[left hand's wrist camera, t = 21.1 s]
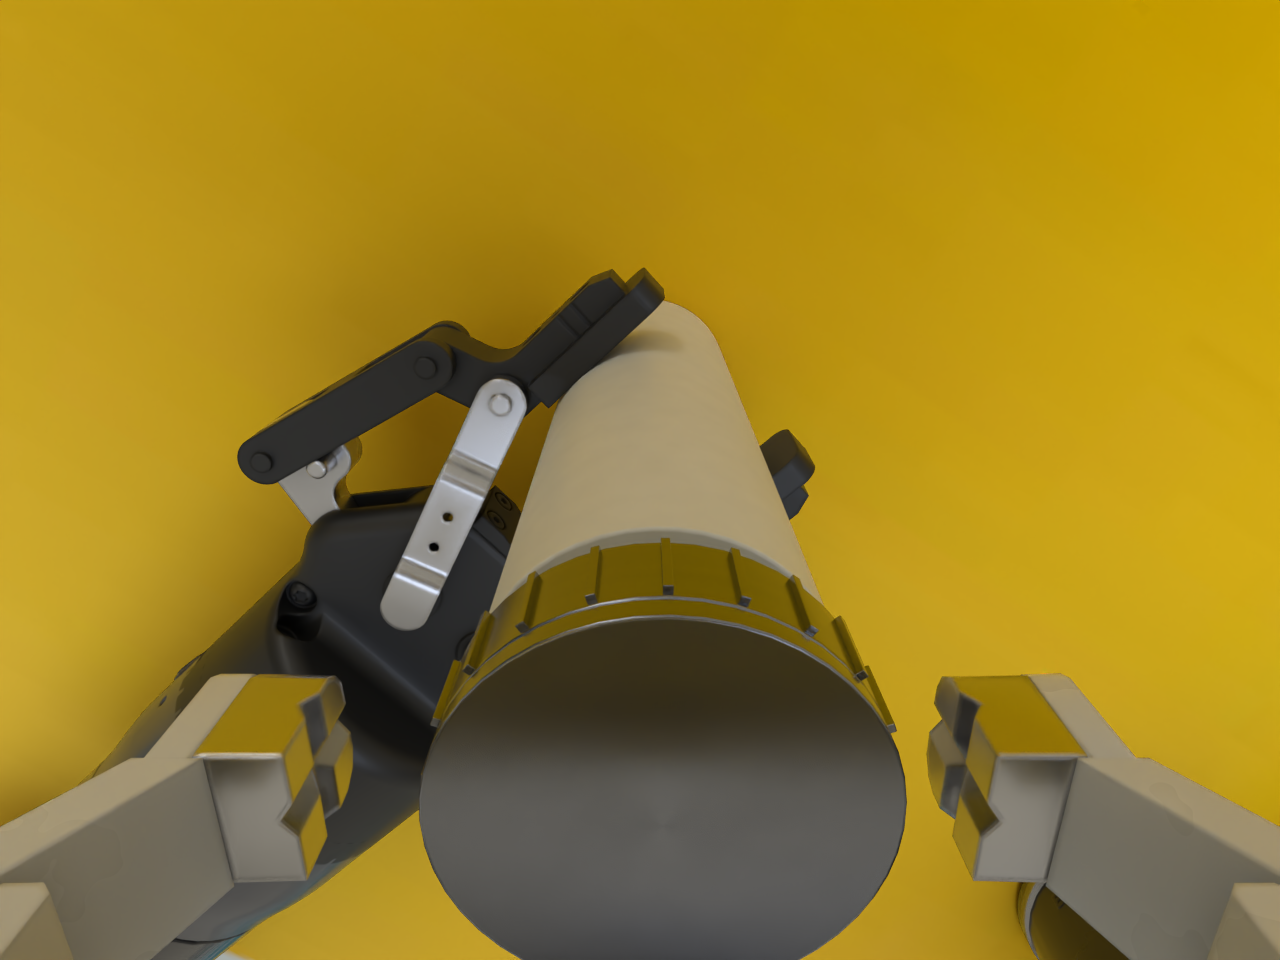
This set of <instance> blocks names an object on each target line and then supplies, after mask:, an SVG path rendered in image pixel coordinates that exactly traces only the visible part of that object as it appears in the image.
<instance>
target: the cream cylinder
mask: <svg viewBox="0 0 1280 960" xmlns="http://www.w3.org/2000/svg"><path fill="white" fill-rule="evenodd" d="M661 538H670V542H671V543H682V544H695V545H700V546H705V547H711V548H716V549H721V550H725V551H728V552H729V551H730V548H731V547H732V548H736V549H739V550H740V554H741V556H743V557H747V558H750V559H752V560H754V561H757V562H759V563H761V564H763V565H765V566H767V567H769V568H772V569H774V570H776V571H778V572H779V573H781V574H783V575H784V576H786V577H787V578H790V577H791V576H792V575H795V576H796V577H798V578H799V579H800V581H801V583H802V586H803V588H804V589H805V590H806V591H807V592H808V593H809V594H811V595H812V596H813V597H814V598H815V599H817V600H818V601H819V602H820V603H821V604H822V605H823V602H822V600H821V598H820V595H819V593H818V590H817V588H816V585H815V583H814V580H813V578H812V575H811V573H810V570H809V568H808V565H807V563H806V560H805V558H804V555H803V553H802V551H801V548H800V546H799V543H798V541H797V538H796V536H795V533H794V531H793V528H792V526H791V523H790V521H789V518H788V516H787V513H786V511H785V508H784V506H783V503H782V501H781V499H780V496H779V494H778V491H777V489H776V486H775V484H774V481H773V479H772V476H771V474H770V471H769V469H768V466H767V464H766V461H765V459H764V456H763V454H762V452H761V449H760V447H759V444H758V442H757V439H756V437H755V434H754V432H753V429H752V427H751V424H750V422H749V419H748V417H747V414H746V412H745V409H744V407H743V405H742V402H741V400H740V397H739V395H738V392H737V390H736V387H735V385H734V382H733V380H732V377H731V375H730V372H729V370H728V367H727V365H726V362H725V360H724V358H723V355H722V353H721V350H720V348H719V345H718V343H717V341H716V339H715V337H714V335H713V334H712V333H711V331H710V330H709V328H708V327H707V326H706V325H705V324H704V323H703V322H702V321H701V320H700V319H699V318H698V317H697V316H696V315H694V314H693V313H692V312H690V311H688V310H687V309H685V308H683V307H681V306H679V305H676V304H674V303H670V302H667V301H662V303H661V304H660V305H659V306H658V307H657V308H656V310H655V311H654V312H653V313H652V314H650V315H649V316H648V317H647V318H646V319H645V320H644V321H643V322H642V323H641V324H640V325H639V326H637V327H636V328H635V329H634V330H633V331H632V332H631V333H630V334H629V335H628V336H627V337H625V338H624V339H623V340H622V341H621V342H620V343H619V344H618V345H617V346H616V347H615V348H614V349H612V350H611V351H610V352H609V353H608V354H607V355H606V356H605V357H604V358H603V359H602V360H600V361H599V362H598V363H597V364H596V365H595V366H594V367H593V368H592V369H591V370H590V371H589V372H587V373H586V374H585V375H584V376H582V377H581V378H580V379H579V380H578V381H577V382H576V383H575V384H574V385H573V386H572V387H571V388H570V389H569V390H568V391H567V392H566V393H565V394H563V395H562V396H561V397H560V398H559V401H558V404H557V407H556V410H555V413H554V416H553V419H552V422H551V425H550V428H549V431H548V434H547V437H546V440H545V443H544V446H543V450H542V453H541V456H540V459H539V462H538V465H537V468H536V471H535V474H534V477H533V480H532V483H531V486H530V489H529V492H528V495H527V498H526V501H525V504H524V507H523V511H522V514H521V517H520V520H519V523H518V526H517V529H516V532H515V535H514V538H513V541H512V544H511V547H510V550H509V553H508V556H507V559H506V562H505V565H504V568H503V572H502V575H501V578H500V581H499V584H498V587H497V590H496V593H495V596H494V599H493V602H492V605H491V608H490V611H489V613H490V614H491V613H492V612H493V611H494V610H495V609H496V608H497V607H498V606H499V605H500V604H501V603H502V602H503V601H504V600H505V599H506V598H507V597H508V596H510V595H511V594H512V593H513V592H515V591H516V590H517V589H518V588H520V587H521V586H522V585H524V584H525V583H526V582H527V578H528V575H529V574H531V573H532V572H534V571H536V572H537V573H538V574H539V575H540V574H541V573H543V572H545V571H547V570H548V569H550V568H552V567H554V566H557V565H559V564H561V563H564V562H566V561H568V560H571V559H573V558H575V557H578V556H581V555H585V554H588V553H590V549H591V547H594V546H598V545H599V546H600V548H601V550H602V549H605V548H611V547H617V546H623V545H629V544H636V543H658V542H661ZM823 606H824V605H823Z"/></svg>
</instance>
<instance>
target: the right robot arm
mask: <svg viewBox="0 0 1280 960" xmlns="http://www.w3.org/2000/svg"><path fill="white" fill-rule="evenodd" d="M664 298H665V296H664V290H663V288H662V287H661V286H660V285H659V283H658V282H657V281H656V280H655V279H654V278H653V277H652V276H651V275H650V273H649V272H648V271H647V270H646V269H645V268H642V269H641V270H640V271H638V272H637V273H636V274H635V275H634V276H632V277H631V278H630V279H629V280H628V281H627V282H626V283H625V282H624V281H623V280H622V279H621V278H620V277H619V276H618V275H617V274H616V272H615V271H614V270H613V269H611V270H608V271H606V272H603V273H601V274H598V275H595V276H593V277H591V278H590V279H589V280H588V281H587V282H586V283H585V284H584V285H583V286H582V287H581V288H580V289H579V290H578V291H577V292H576V293H575V294H574V295H572V296H571V297H570V298H569V299H568V300H567V301H566V302H565V303H564V304H563V305H562V306H561V307H560V308H559V309H558V310H557V311H556V312H555V313H554V314H553V315H552V316H550V317H549V318H548V319H547V320H546V321H545V322H544V323H543V324H542V325H541V326H540V327H539V328H538V329H537V330H536V331H535V332H534V333H533V334H532V335H531V336H530V337H529V338H528V339H526V340H525V341H524V342H523V343H522V344H520V345H519V346H517V347H514V348H511V349H496V348H493V347H490V346H488V345H486V344H484V343H482V342H480V341H478V340H476V339H474V338H472V337H470V335H469V333H468V331H467V330H466V329H465V328H464V327H463V326H461V325H460V324H458V323H456V322H453V321H441V322H438V323H436V324H434V325H432V326H431V327H429V328H427V329H426V330H424V331H422V332H421V333H419V334H417V335H415V336H414V337H412V338H410V339H409V340H407V341H405V342H404V343H402V344H400V345H398V346H397V347H395V348H393V349H392V350H390V351H388V352H387V353H385V354H383V355H381V356H380V357H378V358H376V359H375V360H373V361H371V362H370V363H368V364H366V365H364V366H363V367H361V368H359V369H358V370H356V371H354V372H353V373H351V374H349V375H347V376H346V377H344V378H342V379H341V380H339V381H337V382H336V383H334V384H332V385H330V386H329V387H327V388H325V389H324V390H322V391H320V392H319V393H317V394H315V395H313V396H312V397H310V398H308V399H307V400H305V401H303V402H302V403H300V404H298V405H296V406H295V407H293V408H291V409H290V410H288V411H286V412H285V413H284V414H282V415H281V416H280V417H278V418H277V419H275V420H274V421H273V422H271V423H270V424H268V425H267V426H266V427H264V428H263V429H262V430H260V431H259V432H258V433H256V434H255V435H254V436H252V437H251V438H250V439H248V440H247V441H246V442H244V443H243V444H242V445H241V447H240V448H239V451H238V455H237V458H238V464H239V466H240V468H241V470H242V472H243V473H244V474H245V475H246V476H247V477H248V478H249V479H251V480H253V481H254V482H257V483H260V484H274V483H276V482H278V483H279V484H280V485H281V487H282V488H283V489H284V490H285V492H286V493H287V494H288V496H289V497H290V498H291V499H292V501H293V502H294V503H295V505H296V506H297V507H298V508H299V510H300V511H301V512H302V513H303V515H304V516H305V517H306V519H307V520H308V521H309V522H310V524H311V525H312V526H311V528H310V529H309V531H308V533H307V536H306V539H305V545H304V551H303V554H302V557H301V560H300V561H299V562H298V563H297V564H296V565H295V566H294V567H293V568H292V569H291V570H290V571H289V572H288V573H287V574H286V575H285V576H284V577H283V578H282V579H281V580H280V581H279V582H277V583H276V584H275V585H274V586H273V587H272V588H271V589H270V590H269V591H268V592H267V593H266V594H265V595H264V596H263V597H262V598H261V599H260V600H259V601H258V602H257V603H256V604H255V605H253V606H252V607H251V608H250V609H249V610H248V611H247V612H246V613H245V614H244V615H243V616H242V617H241V618H240V619H239V620H238V621H237V622H236V623H235V624H234V625H233V626H232V627H231V628H229V629H228V630H227V631H226V632H225V633H224V634H223V635H222V636H221V637H220V638H219V639H218V640H217V641H216V642H215V643H214V644H213V645H212V646H211V647H210V648H209V649H207V650H206V651H205V652H204V653H202V654H200V655H199V656H197V657H196V658H194V659H193V660H192V661H190V662H189V663H188V664H187V665H185V666H184V667H183V668H182V669H181V670H180V671H179V672H178V673H177V676H176V677H175V679H174V682H173V683H172V684H171V685H170V686H169V687H168V688H167V689H166V690H164V691H163V692H162V693H161V694H160V695H159V696H158V697H157V698H156V699H155V700H154V701H153V702H152V703H151V704H150V705H149V706H148V707H147V708H146V709H145V710H144V711H143V713H142V714H141V715H140V716H139V717H138V719H137V720H136V721H135V722H134V724H133V725H132V726H131V727H130V729H129V730H128V731H127V732H126V734H125V735H124V737H123V738H122V740H121V741H120V742H119V744H118V745H117V747H116V748H115V749H114V750H113V751H112V752H111V753H110V755H109V756H108V757H107V758H106V759H105V760H104V761H103V762H102V763H101V764H100V765H99V766H98V767H97V768H95V769H94V770H93V771H92V772H91V773H90V774H89V775H88V776H87V777H86V778H85V779H84V780H83V781H82V782H81V783H80V784H79V785H81V784H82V783H84V782H86V781H88V780H90V779H92V778H94V777H96V776H98V775H100V774H101V773H103V772H105V771H107V770H109V769H111V768H113V767H115V766H117V765H119V764H121V763H122V762H124V761H126V760H128V759H130V758H144V757H145V756H146V755H147V753H148V752H149V751H150V750H151V749H152V747H153V746H154V745H155V744H156V743H157V741H158V740H159V739H160V738H161V737H162V735H163V734H164V733H165V732H166V730H167V729H168V728H169V727H170V726H171V724H172V723H173V722H174V721H175V720H176V718H177V717H178V716H179V715H180V714H181V712H182V711H183V710H184V709H185V708H186V706H187V705H188V704H189V703H190V702H191V700H192V699H193V698H194V697H195V695H196V694H197V693H198V692H199V691H200V689H201V688H202V687H203V686H204V685H205V683H206V682H207V681H208V680H209V679H210V678H211V677H213V676H216V675H219V674H256V675H259V674H284V675H331V676H336V677H337V678H338V679H339V680H340V681H341V682H342V687H343V692H344V697H345V702H346V704H345V706H344V708H343V710H342V712H341V714H340V716H339V718H338V720H339V721H340V722H341V723H342V724H343V725H344V726H345V727H346V728H347V729H348V730H349V731H350V732H351V739H352V745H353V768H352V773H351V778H350V783H349V788H348V791H347V794H346V796H345V798H344V801H343V803H342V805H341V808H340V809H338V810H337V811H336V812H334V813H333V814H332V815H330V816H329V817H328V818H326V819H325V825H326V830H327V838H326V841H325V843H324V845H323V847H322V849H321V851H320V853H319V856H318V858H317V860H316V862H315V864H314V866H313V869H312V871H311V873H310V875H309V877H308V879H307V881H274V882H239V883H234V887H233V888H232V889H231V890H230V891H228V892H227V893H226V894H225V895H224V896H223V897H222V898H220V899H219V900H218V901H217V902H216V903H215V904H214V905H212V906H211V907H210V908H209V909H208V910H207V911H206V912H204V913H203V914H202V915H201V916H200V917H199V918H198V919H196V920H195V921H194V922H193V923H192V924H191V925H189V926H188V927H187V928H186V929H185V930H184V931H183V932H181V933H180V934H179V935H178V936H177V937H176V938H175V939H173V940H172V941H171V942H170V943H169V944H168V945H167V946H165V947H164V948H163V949H162V950H161V951H160V952H159V953H157V954H156V955H155V956H154V957H153V958H152V959H150V960H215V959H216V958H217V957H219V956H220V955H221V954H222V953H224V952H225V951H226V950H227V949H229V948H230V947H231V946H232V945H234V944H235V943H236V942H238V941H239V940H240V939H241V938H243V937H244V936H245V935H246V934H248V933H249V932H250V931H251V930H253V929H254V928H255V927H256V926H258V925H259V924H260V923H262V922H263V921H264V920H266V919H267V918H269V917H271V916H272V915H274V914H276V913H278V912H280V911H282V910H284V909H286V908H288V907H290V906H291V905H293V904H295V903H296V902H298V901H300V900H301V899H303V898H304V897H306V896H308V895H309V894H311V893H312V892H313V891H315V890H316V889H318V888H319V887H321V886H322V885H323V884H325V883H326V882H327V881H328V880H330V879H331V878H332V877H333V876H335V875H336V874H337V873H338V872H340V871H341V870H342V869H343V868H345V867H346V866H347V865H348V864H350V863H351V862H352V861H353V860H355V859H356V858H357V857H358V856H360V855H361V854H362V853H363V852H365V851H366V850H367V849H369V848H370V847H371V846H373V845H374V844H375V843H377V842H378V841H379V840H380V839H382V838H383V837H384V836H385V835H387V834H388V833H389V832H391V831H392V830H393V829H394V828H396V827H397V826H398V825H399V824H401V823H402V822H403V821H404V820H406V819H407V818H408V817H410V816H411V815H412V814H413V813H415V812H416V811H417V810H419V792H420V785H421V773H422V770H423V768H424V765H425V762H426V759H427V756H428V752H429V749H430V746H431V743H432V741H433V738H434V735H435V732H436V729H437V727H434V726H431V725H430V723H431V720H432V718H433V715H434V712H435V709H436V707H437V704H438V701H439V699H440V696H441V693H442V690H443V688H444V685H445V682H446V680H447V677H448V674H449V671H450V669H451V666H452V663H453V661H454V660H457V661H461V659H462V657H463V655H464V653H465V651H466V649H467V647H468V645H469V643H470V641H471V639H472V638H473V636H474V634H475V631H476V628H477V625H478V622H479V619H480V617H481V615H482V614H483V613H484V611H488V612H489V611H490V608H491V605H492V602H493V599H494V596H495V593H496V590H497V587H498V584H499V581H500V578H501V575H502V572H503V568H504V565H505V562H506V559H507V556H508V553H509V550H510V547H511V544H512V541H513V538H514V535H515V532H516V529H517V526H518V523H519V520H520V517H521V512H520V511H519V509H518V507H517V506H516V504H515V503H514V502H513V501H512V500H510V499H509V498H508V497H507V496H506V495H505V494H504V493H503V492H502V491H501V490H500V489H499V488H498V487H497V486H496V485H495V486H494V487H493V488H492V489H491V490H489V489H490V487H491V484H492V482H493V480H494V478H495V476H496V474H497V472H498V470H499V467H500V465H501V463H502V461H503V459H504V457H505V455H506V453H507V451H508V449H509V447H510V444H511V442H512V440H513V438H514V436H515V434H516V432H517V430H518V428H519V426H520V424H521V421H522V419H523V418H524V417H525V416H526V415H527V414H528V413H529V412H530V411H532V410H533V409H534V408H535V407H536V406H537V405H538V404H539V403H540V402H541V401H542V402H543V403H544V404H545V405H546V406H547V407H548V408H549V407H550V406H552V405H553V404H554V403H555V402H556V401H557V400H558V399H559V398H560V397H561V396H562V395H563V394H565V393H566V392H567V391H568V390H569V389H570V388H571V387H572V386H573V385H574V384H575V383H576V382H577V381H578V380H579V379H580V378H581V377H582V376H584V375H585V374H586V373H587V372H589V371H590V370H591V369H592V368H593V367H594V366H595V365H596V364H597V363H598V362H599V361H600V360H602V359H603V358H604V357H605V356H606V355H607V354H608V353H609V352H610V351H611V350H612V349H614V348H615V347H616V346H617V345H618V344H619V343H620V342H621V341H622V340H623V339H624V338H625V337H627V336H628V335H629V334H630V333H631V332H632V331H633V330H634V329H635V328H636V327H637V326H639V325H640V324H641V323H642V322H643V321H644V320H645V319H646V318H647V317H648V316H649V315H650V314H652V313H653V312H654V311H655V310H656V308H657V307H658V306H659V305H660V304H661V303H662V301H663V300H664ZM435 392H437V393H440V394H442V395H444V396H446V397H448V398H450V399H452V400H454V401H456V402H458V403H460V404H463V405H465V406H467V407H469V408H470V410H469V412H468V414H467V417H466V419H465V421H464V423H463V425H462V428H461V430H460V432H459V434H458V437H457V439H456V441H455V443H454V445H453V448H452V450H451V452H450V454H449V456H448V458H447V460H446V462H445V464H444V466H443V468H442V470H441V472H440V474H439V476H438V478H437V480H436V482H435V485H429V486H420V487H411V488H402V489H392V490H383V491H374V492H365V493H356V494H350V493H349V492H348V489H347V487H346V476H347V473H348V472H349V471H350V470H351V469H352V468H353V467H354V466H355V465H356V463H357V462H358V461H359V460H360V458H361V455H362V445H361V442H360V439H359V438H358V436H359V435H361V434H363V433H365V432H366V431H368V430H370V429H372V428H373V427H375V426H377V425H379V424H381V423H382V422H384V421H386V420H388V419H389V418H391V417H393V416H395V415H396V414H398V413H400V412H402V411H403V410H405V409H407V408H409V407H410V406H412V405H414V404H416V403H417V402H419V401H421V400H423V399H424V398H426V397H428V396H430V395H431V394H433V393H435ZM760 449H761V452H762V454H763V456H764V459H765V461H766V464H767V466H768V469H769V471H770V474H771V476H772V479H773V481H774V484H775V486H776V489H777V491H778V494H779V496H780V499H781V501H782V503H783V506H784V508H785V511H786V513H787V516H788V518H789V520H790V519H791V518H793V517H794V516H795V515H796V514H798V512H799V511H800V509H801V507H802V506H803V504H804V503H805V501H806V499H807V498H808V496H809V495H808V493H807V491H806V489H805V487H804V484H805V483H806V482H807V481H808V480H809V479H810V477H811V476H812V475H813V473H814V470H815V465H814V464H813V462H812V460H811V458H810V456H809V455H808V453H807V451H806V449H805V448H804V447H803V446H802V445H801V443H800V442H799V441H798V440H797V439H796V438H795V437H794V436H793V435H792V433H791V432H790V431H789V430H782V431H780V432H778V433H776V434H775V435H773V436H772V437H771V438H770V439H768V440H767V441H766V442H765V443H763V444H762V445H761V446H760ZM79 785H78V786H79ZM76 787H77V786H76ZM1018 917H1019V922H1020V925H1021V928H1022V930H1023V932H1024V934H1025V936H1026V938H1027V940H1028V942H1029V944H1030V947H1031V948H1032V950H1033V952H1034V954H1035V956H1036V957H1037V958H1038V960H1130V959H1129V958H1127V957H1126V956H1125V955H1124V954H1123V953H1122V952H1121V951H1119V950H1118V949H1117V948H1116V947H1115V946H1114V945H1113V944H1111V943H1110V942H1109V941H1108V940H1107V939H1106V938H1105V937H1103V936H1102V935H1101V934H1100V933H1099V932H1098V931H1097V930H1095V929H1094V928H1093V927H1092V926H1091V925H1090V924H1089V923H1087V922H1086V921H1085V920H1084V919H1083V918H1082V917H1081V916H1079V915H1078V914H1077V913H1076V912H1075V911H1074V910H1073V909H1071V908H1070V907H1069V906H1068V905H1067V904H1066V903H1065V902H1063V901H1062V900H1061V899H1060V898H1059V897H1058V896H1057V895H1055V894H1054V893H1053V892H1052V891H1051V890H1050V889H1049V888H1047V887H1046V883H1040V882H1023V884H1022V886H1021V889H1020V893H1019V897H1018Z"/></svg>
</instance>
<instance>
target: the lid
mask: <svg viewBox="0 0 1280 960" xmlns="http://www.w3.org/2000/svg"><path fill="white" fill-rule="evenodd" d="M430 725H431V726H434V727H437V729H436V732H435V735H434V738H433V741H432V743H431V746H430V749H429V752H428V756H427V759H426V762H425V765H424V768H423V770H422V773H421V785H420V792H419V820H420V826H421V831H422V836H423V841H424V846H425V849H426V852H427V854H428V857H429V860H430V863H431V865H432V868H433V870H434V872H435V874H436V876H437V878H438V879H439V881H440V883H441V885H442V887H443V888H444V890H445V892H446V893H447V895H448V896H449V897H450V898H451V900H452V901H453V902H454V904H455V905H456V906H457V908H458V909H459V910H460V912H461V913H462V914H463V915H464V916H465V917H466V918H467V919H468V920H469V921H470V922H471V923H472V924H473V925H474V926H475V927H476V928H477V929H478V930H479V931H481V932H482V933H483V934H485V935H486V936H487V937H488V938H490V939H491V940H492V941H494V942H495V943H496V944H497V945H499V946H500V947H502V948H503V949H505V950H507V951H508V952H510V953H512V954H513V955H515V956H516V957H518V958H520V959H521V960H800V959H801V958H803V957H805V956H807V955H809V954H810V953H812V952H814V951H816V950H817V949H819V948H820V947H821V946H823V945H824V944H826V943H827V942H828V941H830V940H831V939H833V938H834V937H835V936H837V935H838V934H839V933H840V932H841V931H843V930H844V929H845V928H846V927H847V926H848V925H849V924H850V923H851V922H852V921H853V920H854V919H856V918H857V917H858V916H859V914H860V913H861V912H862V911H863V910H864V908H865V907H866V906H867V905H868V904H869V903H870V901H871V900H872V899H873V898H874V897H875V895H876V893H877V892H878V890H879V889H880V887H881V885H882V884H883V882H884V881H885V879H886V878H887V876H888V874H889V872H890V869H891V867H892V865H893V863H894V860H895V858H896V856H897V854H898V850H899V846H900V843H901V839H902V835H903V831H904V826H905V816H906V805H907V798H906V785H905V776H904V772H903V768H902V764H901V760H900V756H899V752H898V750H897V747H896V745H895V743H894V740H893V738H892V736H891V733H893V732H896V731H897V730H896V727H895V724H894V721H893V719H892V717H891V715H890V712H889V710H888V708H887V706H886V703H885V701H884V699H883V697H882V694H881V692H880V690H879V688H878V685H877V683H876V681H875V679H874V676H873V674H872V672H871V670H870V667H869V666H864V664H863V662H862V660H861V657H860V655H859V653H858V650H857V648H856V646H855V643H854V641H853V639H852V637H851V634H850V632H849V630H848V627H847V625H846V623H845V621H844V619H843V618H842V617H841V616H838V617H837V618H835V619H834V617H833V616H832V615H831V614H830V613H829V612H828V611H827V609H826V608H825V607H824V606H823V605H822V604H821V603H820V602H819V601H818V600H817V599H815V598H814V597H813V596H812V595H811V594H809V593H808V592H807V591H806V590H805V589H804V588H803V586H802V583H801V581H800V579H799V578H798V577H796V576H795V575H792V576H791V577H790V578H787V577H786V576H784V575H783V574H781V573H779V572H778V571H776V570H774V569H772V568H769V567H767V566H765V565H763V564H761V563H759V562H757V561H754V560H752V559H750V558H747V557H743V556H741V554H740V550H739V549H736V548H732V547H731V548H730V551H729V552H728V551H725V550H721V549H716V548H711V547H705V546H700V545H695V544H682V543H671V542H670V538H661V542H658V543H636V544H629V545H623V546H617V547H611V548H605V549H602V550H601V548H600V546H599V545H598V546H594V547H591V549H590V553H588V554H585V555H581V556H578V557H575V558H573V559H571V560H568V561H566V562H564V563H561V564H559V565H557V566H554V567H552V568H550V569H548V570H547V571H545V572H543V573H541V574H540V575H539V574H538V573H537V572H536V571H534V572H532V573H531V574H529V575H528V578H527V582H526V583H525V584H524V585H522V586H521V587H520V588H518V589H517V590H516V591H515V592H513V593H512V594H511V595H510V596H508V597H507V598H506V599H505V600H504V601H503V602H502V603H501V604H500V605H499V606H498V607H497V608H496V609H495V610H494V611H493V612H492V613H491V614H490V613H489V612H488V611H484V613H483V614H482V615H481V617H480V619H479V622H478V625H477V628H476V631H475V634H474V636H473V638H472V639H471V641H470V643H469V645H468V647H467V649H466V651H465V653H464V655H463V657H462V659H461V661H457V660H454V661H453V663H452V666H451V669H450V671H449V674H448V677H447V680H446V682H445V685H444V688H443V690H442V693H441V696H440V699H439V701H438V704H437V707H436V709H435V712H434V715H433V718H432V720H431V723H430Z"/></svg>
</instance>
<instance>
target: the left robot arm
mask: <svg viewBox="0 0 1280 960" xmlns="http://www.w3.org/2000/svg"><path fill="white" fill-rule="evenodd" d="M345 704H346V702H345V697H344V692H343V687H342V682H341V681H340V680H339V679H338V678H337V677H336V676H331V675H284V674H259V675H256V674H219V675H216V676H213V677H211V678H210V679H209V680H208V681H207V682H206V683H205V685H204V686H203V687H202V688H201V689H200V691H199V692H198V693H197V694H196V695H195V697H194V698H193V699H192V700H191V702H190V703H189V704H188V705H187V706H186V708H185V709H184V710H183V711H182V712H181V714H180V715H179V716H178V717H177V718H176V720H175V721H174V722H173V723H172V724H171V726H170V727H169V728H168V729H167V730H166V732H165V733H164V734H163V735H162V737H161V738H160V739H159V740H158V741H157V743H156V744H155V745H154V746H153V747H152V749H151V750H150V751H149V752H148V753H147V755H146V756H145V757H144V758H130V759H128V760H126V761H124V762H122V763H121V764H119V765H117V766H115V767H113V768H111V769H109V770H107V771H105V772H103V773H101V774H100V775H98V776H96V777H94V778H92V779H90V780H88V781H86V782H84V783H82V784H81V785H79V786H77V787H75V788H73V789H71V790H69V791H67V792H65V793H63V794H62V795H60V796H58V797H56V798H54V799H52V800H50V801H48V802H46V803H44V804H42V805H41V806H39V807H37V808H35V809H33V810H31V811H29V812H27V813H25V814H23V815H22V816H20V817H18V818H16V819H14V820H12V821H10V822H8V823H6V824H4V825H3V826H1V827H0V960H150V959H152V958H153V957H154V956H155V955H156V954H157V953H159V952H160V951H161V950H162V949H163V948H164V947H165V946H167V945H168V944H169V943H170V942H171V941H172V940H173V939H175V938H176V937H177V936H178V935H179V934H180V933H181V932H183V931H184V930H185V929H186V928H187V927H188V926H189V925H191V924H192V923H193V922H194V921H195V920H196V919H198V918H199V917H200V916H201V915H202V914H203V913H204V912H206V911H207V910H208V909H209V908H210V907H211V906H212V905H214V904H215V903H216V902H217V901H218V900H219V899H220V898H222V897H223V896H224V895H225V894H226V893H227V892H228V891H230V890H231V889H232V888H233V887H234V883H239V882H274V881H307V879H308V877H309V875H310V873H311V871H312V869H313V866H314V864H315V862H316V860H317V858H318V856H319V853H320V851H321V849H322V847H323V845H324V843H325V841H326V838H327V830H326V825H325V819H326V818H328V817H329V816H330V815H332V814H333V813H334V812H336V811H337V810H338V809H340V808H341V805H342V803H343V801H344V798H345V796H346V794H347V791H348V788H349V783H350V778H351V773H352V768H353V745H352V739H351V732H350V731H349V730H348V729H347V728H346V727H345V726H344V725H343V724H342V723H341V722H340V721H339V720H338V718H339V716H340V714H341V712H342V710H343V708H344V706H345ZM934 704H935V706H936V708H937V710H938V712H939V714H940V716H941V718H942V720H941V721H940V722H939V723H938V724H937V725H936V726H935V727H934V728H933V729H932V730H931V731H930V732H929V740H928V748H927V764H928V776H929V780H930V784H931V787H932V791H933V794H934V796H935V799H936V801H937V803H938V805H939V808H940V809H942V810H943V811H944V812H946V813H947V814H948V815H950V816H951V817H953V818H954V819H955V825H954V830H953V838H954V841H955V843H956V845H957V847H958V849H959V851H960V853H961V855H962V858H963V860H964V862H965V864H966V866H967V868H968V870H969V873H970V875H971V877H972V879H973V881H1005V882H1040V883H1046V887H1047V888H1049V889H1050V890H1051V891H1052V892H1053V893H1054V894H1055V895H1057V896H1058V897H1059V898H1060V899H1061V900H1062V901H1063V902H1065V903H1066V904H1067V905H1068V906H1069V907H1070V908H1071V909H1073V910H1074V911H1075V912H1076V913H1077V914H1078V915H1079V916H1081V917H1082V918H1083V919H1084V920H1085V921H1086V922H1087V923H1089V924H1090V925H1091V926H1092V927H1093V928H1094V929H1095V930H1097V931H1098V932H1099V933H1100V934H1101V935H1102V936H1103V937H1105V938H1106V939H1107V940H1108V941H1109V942H1110V943H1111V944H1113V945H1114V946H1115V947H1116V948H1117V949H1118V950H1119V951H1121V952H1122V953H1123V954H1124V955H1125V956H1126V957H1127V958H1129V959H1130V960H1280V827H1279V826H1277V825H1275V824H1273V823H1271V822H1270V821H1268V820H1266V819H1264V818H1262V817H1260V816H1258V815H1256V814H1254V813H1252V812H1251V811H1249V810H1247V809H1245V808H1243V807H1241V806H1239V805H1237V804H1235V803H1233V802H1232V801H1230V800H1228V799H1226V798H1224V797H1222V796H1220V795H1218V794H1216V793H1215V792H1213V791H1211V790H1209V789H1207V788H1205V787H1203V786H1201V785H1199V784H1197V783H1196V782H1194V781H1192V780H1190V779H1188V778H1186V777H1184V776H1182V775H1180V774H1178V773H1177V772H1175V771H1173V770H1171V769H1169V768H1167V767H1165V766H1163V765H1161V764H1159V763H1158V762H1156V761H1154V760H1152V759H1150V758H1136V757H1135V756H1134V755H1133V753H1132V752H1131V751H1130V750H1129V749H1128V747H1127V746H1126V745H1125V744H1124V743H1123V741H1122V740H1121V739H1120V738H1119V737H1118V735H1117V734H1116V733H1115V732H1114V731H1113V729H1112V728H1111V727H1110V726H1109V725H1108V723H1107V722H1106V721H1105V720H1104V719H1103V717H1102V716H1101V715H1100V714H1099V712H1098V711H1097V710H1096V709H1095V708H1094V706H1093V705H1092V704H1091V703H1090V702H1089V700H1088V699H1087V698H1086V697H1085V696H1084V694H1083V693H1082V692H1081V691H1080V690H1079V688H1078V687H1077V686H1076V685H1075V684H1074V682H1073V681H1072V680H1071V679H1070V678H1069V677H1067V676H1065V675H1063V674H1061V673H1055V674H1023V675H1020V676H943V677H942V678H941V680H940V682H939V684H938V686H937V690H936V696H935V701H934Z"/></svg>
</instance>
